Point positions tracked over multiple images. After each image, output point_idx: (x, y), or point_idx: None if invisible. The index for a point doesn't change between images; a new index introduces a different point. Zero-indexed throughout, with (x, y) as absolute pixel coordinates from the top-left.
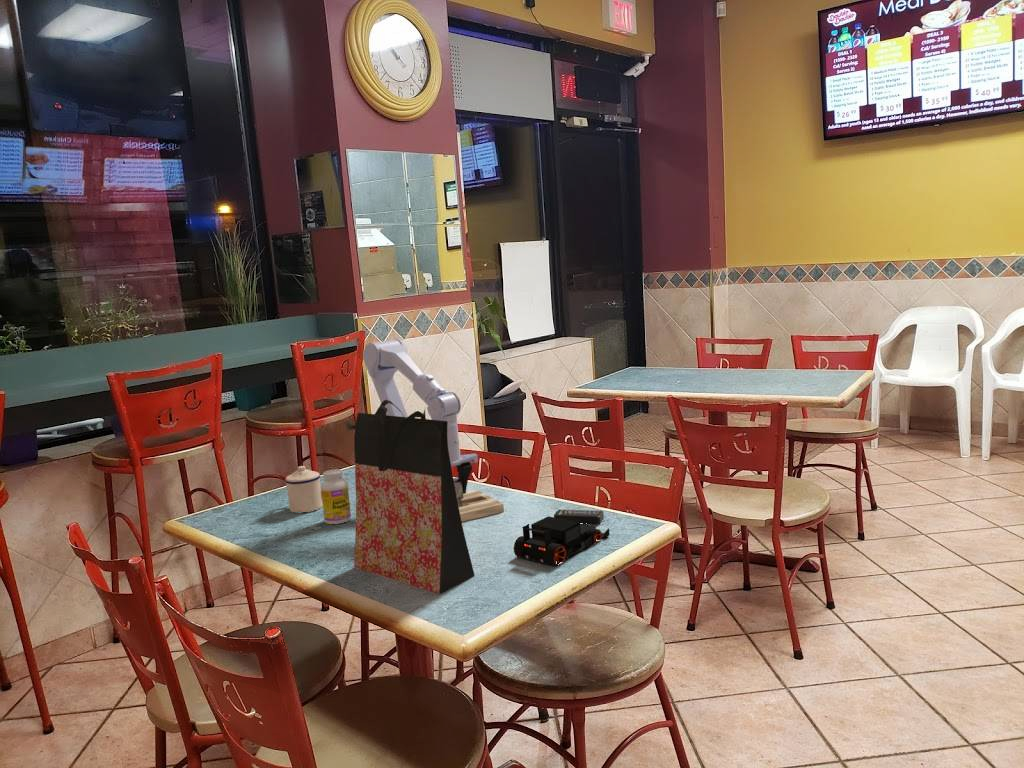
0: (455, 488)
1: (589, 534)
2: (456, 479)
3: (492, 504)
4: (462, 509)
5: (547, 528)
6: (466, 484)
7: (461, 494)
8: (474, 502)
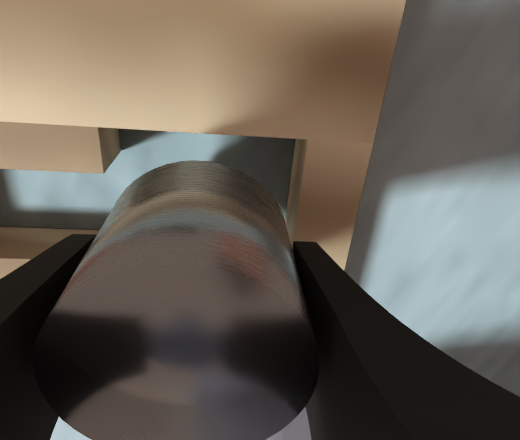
0: (199, 222)
1: None
2: (103, 395)
3: None
4: (198, 53)
5: None
6: (8, 276)
7: (134, 194)
8: (36, 158)
